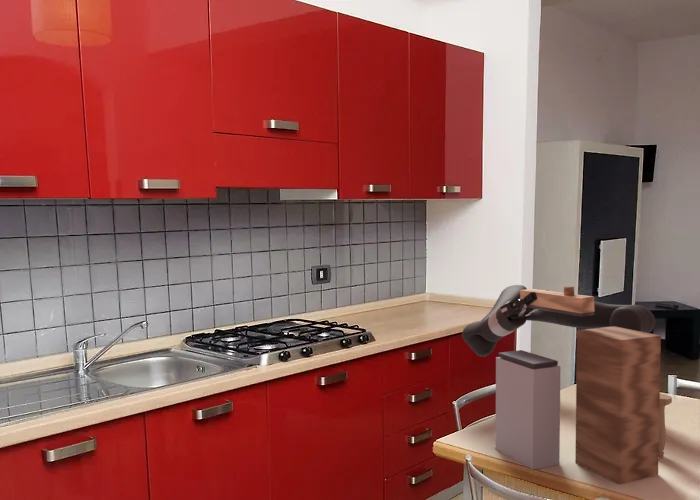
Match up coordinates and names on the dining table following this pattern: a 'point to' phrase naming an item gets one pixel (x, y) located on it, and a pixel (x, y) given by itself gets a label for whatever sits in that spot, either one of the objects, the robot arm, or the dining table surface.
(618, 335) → the shelf block
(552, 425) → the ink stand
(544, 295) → the stamp
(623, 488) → the dining table surface
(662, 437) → the handle
